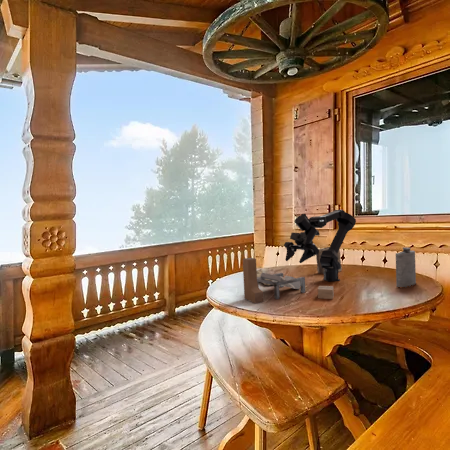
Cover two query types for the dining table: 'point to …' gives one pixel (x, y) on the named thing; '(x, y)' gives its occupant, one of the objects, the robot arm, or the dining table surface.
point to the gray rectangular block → (295, 284)
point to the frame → (282, 283)
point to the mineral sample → (319, 268)
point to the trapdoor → (276, 279)
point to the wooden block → (251, 281)
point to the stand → (325, 292)
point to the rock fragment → (260, 276)
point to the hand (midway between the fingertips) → (292, 261)
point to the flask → (405, 268)
